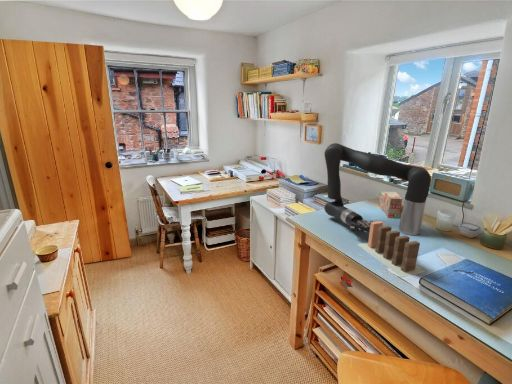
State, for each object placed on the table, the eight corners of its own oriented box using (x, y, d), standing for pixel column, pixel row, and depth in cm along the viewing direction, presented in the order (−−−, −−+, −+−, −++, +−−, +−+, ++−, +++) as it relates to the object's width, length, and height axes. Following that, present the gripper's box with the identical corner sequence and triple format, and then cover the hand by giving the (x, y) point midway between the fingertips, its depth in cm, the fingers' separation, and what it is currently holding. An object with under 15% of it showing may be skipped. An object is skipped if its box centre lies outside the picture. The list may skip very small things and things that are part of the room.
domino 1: (375, 251, 126) (378, 226, 122) (384, 249, 128) (388, 225, 124) (378, 253, 124) (381, 228, 121) (387, 251, 126) (391, 227, 122)
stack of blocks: (378, 205, 183) (380, 187, 180) (388, 205, 183) (391, 187, 179) (387, 218, 163) (390, 197, 160) (399, 218, 162) (402, 198, 159)
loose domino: (367, 246, 131) (370, 222, 127) (376, 244, 132) (380, 220, 128) (370, 248, 129) (373, 224, 125) (379, 246, 130) (383, 222, 127)
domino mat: (357, 245, 133) (357, 244, 132) (378, 241, 136) (378, 240, 136) (400, 277, 108) (401, 276, 108) (425, 272, 111) (425, 271, 111)
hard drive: (474, 270, 111) (455, 253, 123) (452, 269, 111) (436, 253, 123) (473, 274, 111) (455, 257, 123) (451, 273, 112) (435, 256, 124)
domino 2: (382, 257, 122) (386, 231, 118) (392, 255, 123) (396, 230, 119) (386, 259, 120) (390, 233, 116) (396, 257, 121) (400, 232, 117)
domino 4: (400, 269, 112) (405, 242, 109) (410, 267, 114) (415, 240, 110) (404, 272, 111) (409, 245, 107) (414, 270, 112) (420, 243, 108)
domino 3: (391, 263, 117) (395, 236, 113) (401, 261, 118) (405, 235, 115) (395, 265, 115) (399, 239, 112) (405, 263, 117) (409, 237, 113)
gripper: (340, 213, 142) (362, 227, 126) (363, 210, 146) (387, 223, 130) (339, 226, 145) (360, 242, 129) (361, 223, 148) (384, 238, 132)
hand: (373, 232), depth 129 cm, fingers closed
